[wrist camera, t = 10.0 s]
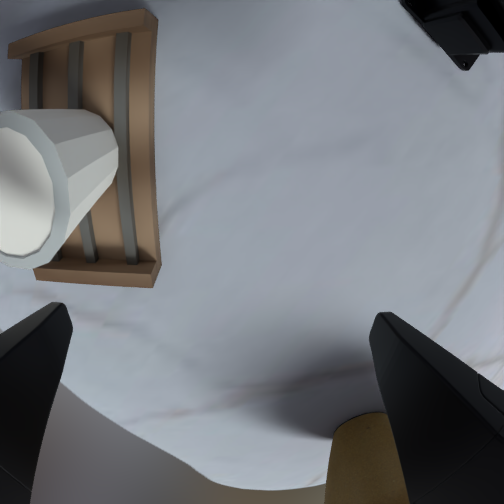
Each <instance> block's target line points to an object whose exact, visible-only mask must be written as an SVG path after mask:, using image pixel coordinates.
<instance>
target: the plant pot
mask: <svg viewBox="0 0 504 504" xmlns="http://www.w3.org/2000/svg"><path fill="white" fill-rule="evenodd" d="M324 504H410V503H409V498H408V494H407V489H406V485H405V481H404V476H403V472H402V468H401V464H400V460H399V456H398V452H397V449H396V445H395V441H394V437H393V434H392V430H391V426H390V423H389V419H388V416H387V415H386V414H385V413H379V412H377V413H368V414H364V415H361V416H358V417H356V418H353V419H351V420H349V421H347V422H345V423H344V424H342V425H341V426H340V427H339V428H338V429H337V430H336V431H335V433H334V436H333V441H332V446H331V452H330V458H329V464H328V472H327V480H326V490H325V502H324Z"/></svg>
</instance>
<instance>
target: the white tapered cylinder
mask: <svg viewBox="0 0 504 504" xmlns="http://www.w3.org/2000/svg"><path fill="white" fill-rule="evenodd" d="M117 168H118V145H117V142H116V139H115V137H114V134H113V131H112V129H111V128H110V127H109V125H108V124H107V123H106V122H105V121H104V120H103V119H102V118H101V117H100V116H99V115H97V114H94V113H92V112H89V111H87V110H85V109H29V110H9V111H4V112H0V262H2V263H4V264H5V265H7V266H9V267H14V268H20V269H27V270H31V269H33V268H36V267H39V266H41V265H44V264H46V263H49V262H50V261H51V259H52V258H53V257H54V255H55V254H56V253H57V251H58V250H59V249H60V247H61V246H62V245H63V244H64V242H65V241H66V240H67V238H68V237H69V236H70V234H71V233H72V232H73V230H74V229H75V228H76V226H77V225H78V224H79V222H80V221H81V220H82V219H83V217H84V216H85V215H86V214H87V212H88V211H89V210H90V209H91V207H92V206H93V205H94V204H95V202H96V201H97V200H98V199H99V198H100V196H101V195H102V194H103V193H104V192H105V191H106V189H107V188H108V187H109V186H110V185H111V184H112V181H113V179H114V176H115V173H116V171H117Z"/></svg>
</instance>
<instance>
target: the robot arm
mask: <svg viewBox="0 0 504 504" xmlns="http://www.w3.org/2000/svg"><path fill="white" fill-rule="evenodd" d="M408 1H410V2H411V4H412V6H411V5H409V3H408ZM402 4H403V6H404V7H405V8H406V9H407V10H408V11H409V12H410V13H411V14H412V15H413V16H414V17H415V18H416V19H417V20H418V21H419V22H420V23H421V24H422V25H423V27H424V29H425V30H426V31H427V32H428V33H429V34H430V35H431V36H432V37H433V39H434V40H435V41H436V42H437V43H438V44H439V45H440V47H441V48H442V49H443V50H444V51H445V52H446V54H448V55H449V56H450V57H451V58H452V60H453V61H454V62H455V63H456V65H457V66H458V67H459V68H460V69H461V70H463V71H468V70H469V69H470V68H471V67H472V65H473V64H474V62H475V61H476V60H477V58H478V57H479V55H480V54H488V53H504V0H402ZM463 61H464V63H465V66H464V65H463ZM72 332H73V326H72V322H71V319H70V316H69V314H68V311H67V308H66V306H65V304H63V303H59V302H51V303H50V304H48V305H46V306H45V307H43V308H41V309H40V310H38V311H36V312H35V313H33V314H31V315H30V316H28V317H27V318H25V319H23V320H22V321H20V322H19V323H17V324H15V325H14V326H12V327H11V328H9V329H7V330H6V331H4V332H3V333H1V334H0V504H30V499H31V493H32V492H31V491H32V486H33V481H34V476H35V471H36V466H37V462H38V457H39V453H40V449H41V444H42V440H43V436H44V433H45V429H46V425H47V421H48V418H49V414H50V411H51V408H52V404H53V401H54V398H55V395H56V391H57V388H58V385H59V382H60V379H61V376H62V372H63V368H64V364H65V360H66V356H67V352H68V348H69V344H70V340H71V336H72ZM369 342H370V347H371V351H372V356H373V361H374V366H375V371H376V376H377V381H378V385H379V389H380V392H381V396H382V399H383V402H384V406H385V409H386V412H387V416H388V419H389V423H390V426H391V430H392V434H393V437H394V441H395V445H396V449H397V452H398V456H399V460H400V464H401V468H402V472H403V476H404V481H405V485H406V489H407V494H408V498H409V503H410V504H504V390H502V389H500V388H499V387H497V386H496V385H495V384H493V383H492V382H490V381H489V380H487V379H486V378H485V377H483V376H482V375H481V374H478V373H477V372H476V371H475V370H474V369H472V368H471V367H469V366H468V365H467V364H465V363H464V362H462V361H461V360H460V359H458V358H457V357H455V356H454V355H453V354H451V353H450V352H448V351H447V350H446V349H444V348H443V347H441V346H440V345H438V344H437V343H436V342H434V341H433V340H431V339H430V338H428V337H427V336H426V335H424V334H423V333H421V332H420V331H418V330H417V329H415V328H414V327H413V326H411V325H410V324H408V323H407V322H405V321H404V320H402V319H401V318H399V317H398V316H397V315H395V314H394V313H392V312H379V313H378V314H377V315H376V317H375V320H374V323H373V326H372V329H371V331H370V335H369Z"/></svg>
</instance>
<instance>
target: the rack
mask: <svg viewBox="0 0 504 504" xmlns="http://www.w3.org/2000/svg"><path fill="white" fill-rule="evenodd" d="M157 29H158V19H157V18H156V17H155V16H153V15H152V14H151V13H150V12H149V11H148V10H146V9H145V8H143V9H136V10H129V11H123V12H118V13H112V14H107V15H102V16H97V17H93V18H88V19H84V20H80V21H76V22H73V23H69V24H65V25H62V26H58V27H55V28H52V29H49V30H45V31H42V32H39V33H36V34H34V35H31V36H28V37H25V38H23V39H20V40H17V41H15V42H12V43H10V44H9V46H8V59H22V77H21V107H22V110H29V109H85V110H87V111H89V112H92V113H94V114H97V115H99V116H100V117H101V118H102V119H103V120H104V121H105V122H106V123H107V124H108V125H109V127H110V128H111V129H112V131H113V134H114V137H115V139H116V142H117V145H118V168H117V171H116V173H115V176H114V179H113V181H112V184H111V185H110V186H109V187H108V188H107V189H106V191H105V192H104V193H103V194H102V195H101V196H100V198H99V199H98V200H97V201H96V202H95V204H94V205H93V206H92V207H91V209H90V210H89V211H88V212H87V214H86V215H85V216H84V217H83V219H82V220H81V221H80V222H79V224H78V225H77V226H76V228H75V229H74V230H73V232H72V233H71V234H70V236H69V237H68V238H67V240H66V241H65V242H64V244H63V245H62V246H61V247H60V249H59V250H58V251H57V253H56V254H55V255H54V257H53V258H52V259H51V261H50V262H49V263H46V264H44V265H41V266H39V267H36V268H33V271H34V274H35V277H36V280H41V281H53V282H65V283H78V284H92V285H107V286H123V287H140V288H153V286H154V283H155V281H156V278H157V276H158V273H159V271H160V268H161V266H162V263H161V252H160V241H159V229H158V215H157V199H156V179H155V148H154V92H155V62H156V43H157Z"/></svg>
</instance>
